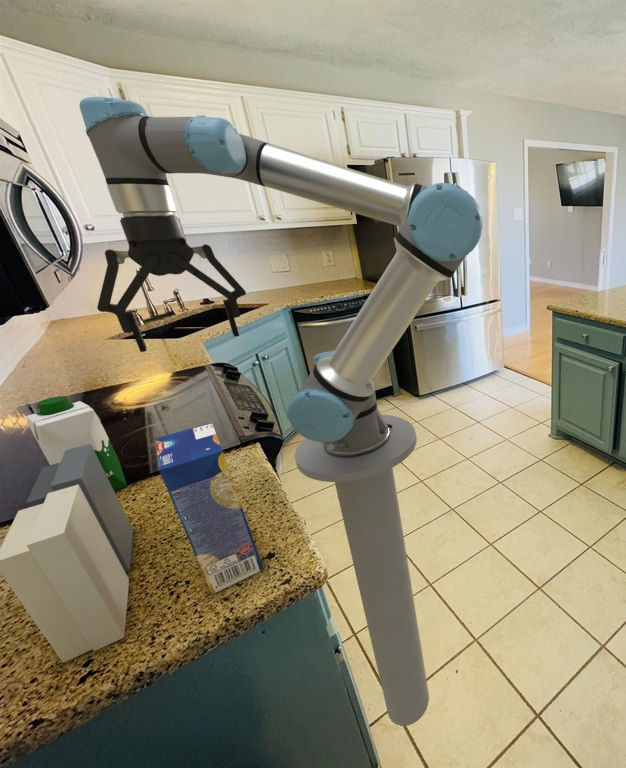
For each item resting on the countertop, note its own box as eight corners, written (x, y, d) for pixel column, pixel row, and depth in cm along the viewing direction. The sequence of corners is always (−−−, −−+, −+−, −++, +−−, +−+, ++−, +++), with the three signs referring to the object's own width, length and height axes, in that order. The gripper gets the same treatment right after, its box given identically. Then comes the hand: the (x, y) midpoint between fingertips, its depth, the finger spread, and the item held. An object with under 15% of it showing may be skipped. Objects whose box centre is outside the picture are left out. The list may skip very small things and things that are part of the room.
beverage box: (249, 532, 72) (211, 422, 63) (263, 569, 64) (222, 450, 56) (203, 552, 68) (155, 437, 59) (212, 594, 60) (159, 470, 51)
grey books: (133, 530, 73) (90, 443, 66) (129, 571, 64) (80, 477, 57) (88, 545, 70) (38, 456, 63) (78, 592, 61) (19, 494, 54)
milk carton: (118, 472, 90) (79, 389, 82) (134, 485, 85) (94, 399, 77) (63, 494, 83) (14, 406, 75) (77, 509, 78) (27, 417, 70)
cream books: (129, 579, 63) (78, 484, 56) (124, 637, 54) (63, 532, 47) (76, 601, 59) (15, 502, 52) (62, 666, 51) (-14, 558, 44)
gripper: (236, 214, 75) (265, 325, 83) (42, 217, 61) (101, 351, 69) (242, 213, 70) (273, 333, 78) (30, 217, 55) (96, 363, 64)
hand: (192, 342), depth 74 cm, fingers open, 13 cm apart
